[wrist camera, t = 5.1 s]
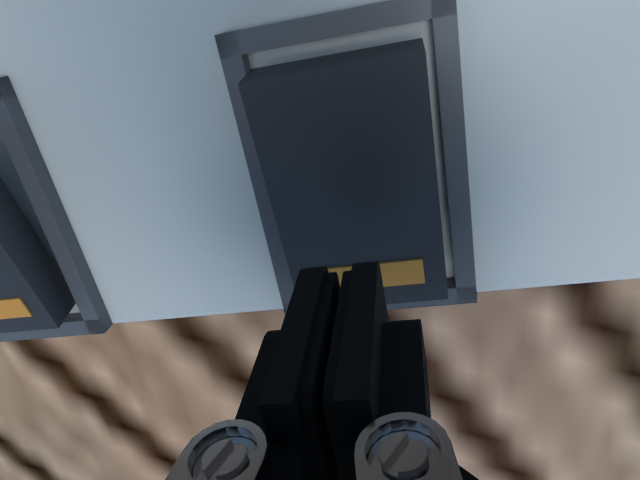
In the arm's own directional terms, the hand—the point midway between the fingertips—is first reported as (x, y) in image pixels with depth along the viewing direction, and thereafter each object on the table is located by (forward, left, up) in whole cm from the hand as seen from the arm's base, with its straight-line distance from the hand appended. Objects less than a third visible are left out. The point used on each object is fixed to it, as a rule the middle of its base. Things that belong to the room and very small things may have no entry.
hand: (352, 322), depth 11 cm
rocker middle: (-1, 0, -4) cm, 4 cm away
